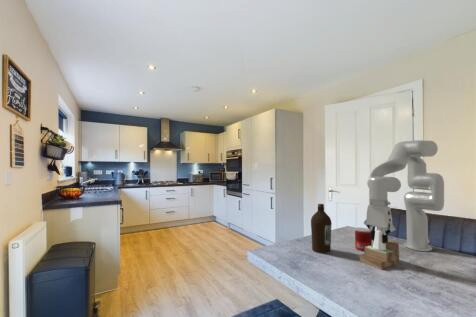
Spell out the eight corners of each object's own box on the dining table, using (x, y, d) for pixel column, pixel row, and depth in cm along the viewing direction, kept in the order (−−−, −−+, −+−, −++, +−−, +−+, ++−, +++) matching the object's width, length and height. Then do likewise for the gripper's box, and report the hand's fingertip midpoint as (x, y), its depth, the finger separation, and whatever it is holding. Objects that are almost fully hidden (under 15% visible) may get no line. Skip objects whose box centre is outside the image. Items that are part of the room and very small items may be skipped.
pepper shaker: (380, 246, 111) (381, 224, 111) (388, 250, 106) (389, 227, 106) (370, 246, 111) (371, 223, 111) (377, 250, 106) (378, 227, 106)
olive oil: (307, 250, 123) (307, 203, 125) (316, 245, 131) (316, 202, 132) (326, 255, 116) (325, 206, 117) (335, 250, 123) (334, 204, 124)
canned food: (374, 252, 121) (373, 231, 121) (357, 251, 122) (357, 230, 123) (368, 247, 128) (368, 227, 129) (353, 246, 130) (353, 227, 130)
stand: (377, 255, 116) (377, 236, 117) (400, 263, 107) (400, 243, 107) (359, 261, 109) (359, 241, 109) (382, 270, 100) (382, 248, 100)
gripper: (401, 204, 104) (402, 245, 103) (365, 200, 119) (366, 235, 118) (393, 206, 100) (394, 248, 99) (356, 201, 115) (357, 237, 114)
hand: (379, 240), depth 109 cm, fingers open, 4 cm apart
